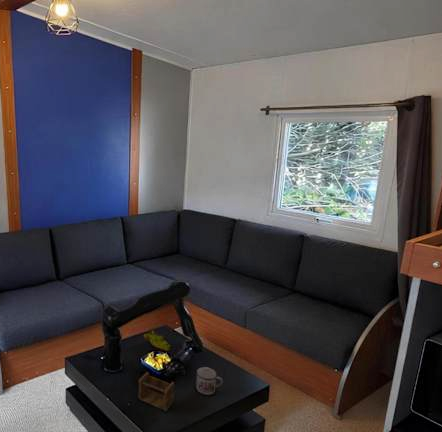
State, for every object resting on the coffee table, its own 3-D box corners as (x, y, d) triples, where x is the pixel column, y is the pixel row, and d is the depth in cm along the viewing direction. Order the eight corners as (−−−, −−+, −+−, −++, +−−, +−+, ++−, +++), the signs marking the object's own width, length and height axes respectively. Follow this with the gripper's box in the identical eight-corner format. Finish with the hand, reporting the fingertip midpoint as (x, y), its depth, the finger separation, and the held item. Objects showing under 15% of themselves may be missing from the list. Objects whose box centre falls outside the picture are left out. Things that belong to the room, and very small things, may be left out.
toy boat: (150, 338, 238) (150, 323, 236) (173, 352, 223) (174, 336, 221) (142, 342, 234) (142, 326, 232) (165, 356, 220) (165, 339, 218)
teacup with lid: (196, 394, 188) (197, 372, 186) (194, 382, 197) (196, 361, 194) (223, 397, 186) (225, 375, 183) (220, 385, 195) (222, 363, 192)
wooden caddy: (138, 399, 186) (138, 379, 183) (146, 390, 192) (147, 371, 190) (166, 411, 177) (167, 391, 175) (173, 401, 183) (174, 382, 181)
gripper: (168, 349, 207) (153, 365, 194) (193, 358, 200) (178, 375, 186) (168, 362, 209) (152, 378, 196) (192, 371, 201) (178, 389, 188)
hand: (165, 377), depth 191 cm, fingers closed
